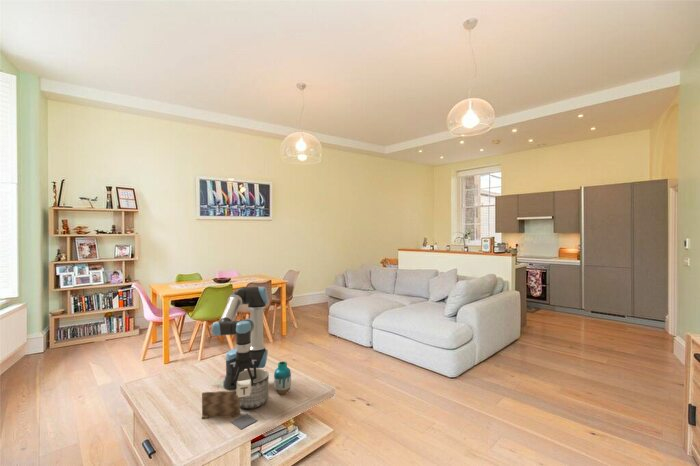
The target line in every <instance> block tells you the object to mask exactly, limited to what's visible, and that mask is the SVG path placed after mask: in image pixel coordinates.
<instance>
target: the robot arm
mask: <svg viewBox="0 0 700 466" xmlns="http://www.w3.org/2000/svg"><path fill="white" fill-rule="evenodd" d="M226 303H227V304H226V306H225V308H224V311H223V312H222V314H221V317H220V319H219V320H218V321H215V322H213V323H212V326H211V333H212V335H213V336H220V337H221V336H233V335H235V338H236V339H235V342H236V344H235V347H234V348H232V349H230V350H229V351H227V352H226V354H225V377H224V380H223V388H224V389H225V390H226V391H233V390H236V393H237V395H238V381H237V379H238V376H239V373H240V372H242V371H245V370H248V373H249V376H250V379H249V382H250V393H251V386H253V380H254V379H256V378H257V375H256V369H263V368H265V367H266V365H267V360H268V353H269V352H268V351H269V350H268V349H266V346H265V344H264V309H265V308H266V305H267V304H269V296H268V291H267V288H266V287H265V286H242V287H239V288H236V289H235V290H234V291H232V292H231V293H230V295H229V296H228V298H227V301H226ZM242 305H247V307H248V309H249V310H250V311H249V312H250V315H249V316H250V317H249V318H245V319H243V320H235V318H236V315H237V314H238V310H239V308H240V307H241V306H242ZM250 369H254V376H252V373H251V370H250Z"/></svg>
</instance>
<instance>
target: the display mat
mask: <svg viewBox="0 0 700 466" xmlns="http://www.w3.org/2000/svg"><path fill="white" fill-rule="evenodd" d="M256 422H258V419H256V418H255V417H254V416H251V415H250V414H248V413H245V414H242V415H241V416H240V417H237V418H235V419H233V420H231V421H230V423H231V424H232V425H234V426H235V427H236V428H238V429H239V430H243V429H245V428H247V427H248V425H249V426H250V424H251V425H252V424H254V423H256Z"/></svg>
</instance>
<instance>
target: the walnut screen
mask: <svg viewBox="0 0 700 466" xmlns="http://www.w3.org/2000/svg"><path fill="white" fill-rule="evenodd" d="M240 408H241V407H240V397H239V398H238V395H237V393H236V390H222V391H221V390H218V391H203V392H201V419H202V420H203V419H209V417H214V416H229V415H231V417H232V418H235V417H238V416H239V414H240V412H241V411H240V410H241V409H240Z"/></svg>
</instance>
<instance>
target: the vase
mask: <svg viewBox="0 0 700 466" xmlns="http://www.w3.org/2000/svg"><path fill="white" fill-rule="evenodd" d="M273 373H274V375H273V386H274V391H275V393H276V394H278V395H285V394H287V393H289V392H290V390H291V386H292V371H291V369H290V368H289V367H288V363H287V361H285V360H284V361H279V362H278V363H277V368H276V369H274V372H273Z"/></svg>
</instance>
